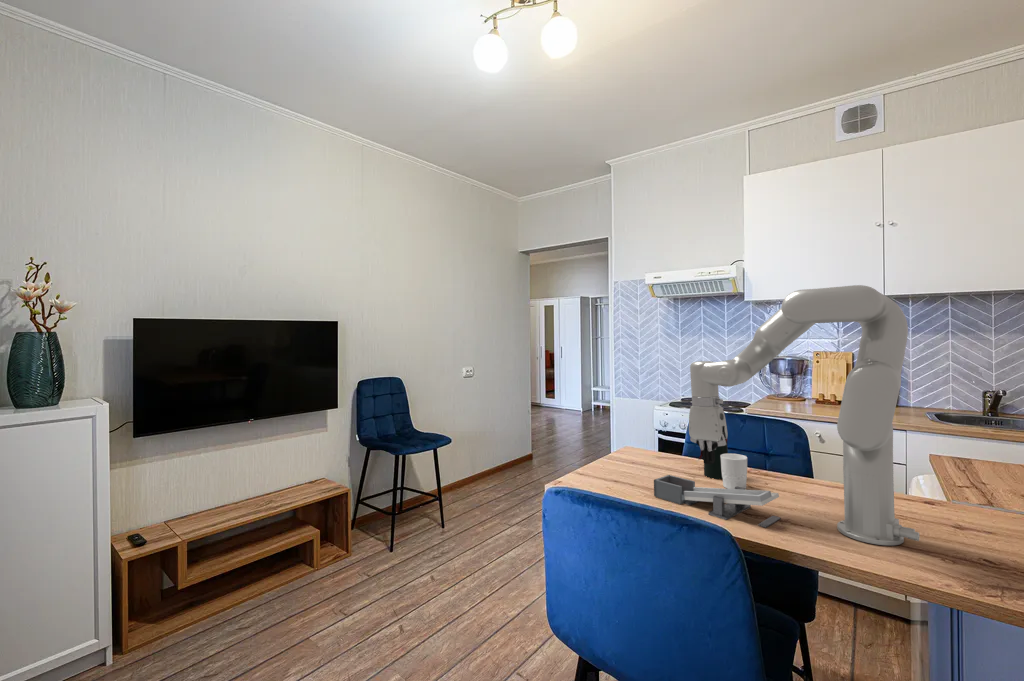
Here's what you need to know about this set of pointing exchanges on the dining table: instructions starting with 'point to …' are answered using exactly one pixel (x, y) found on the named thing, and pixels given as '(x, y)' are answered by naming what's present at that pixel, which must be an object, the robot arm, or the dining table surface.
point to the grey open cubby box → (672, 488)
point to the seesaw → (731, 495)
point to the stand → (732, 510)
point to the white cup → (734, 470)
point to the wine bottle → (715, 463)
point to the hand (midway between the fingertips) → (709, 463)
